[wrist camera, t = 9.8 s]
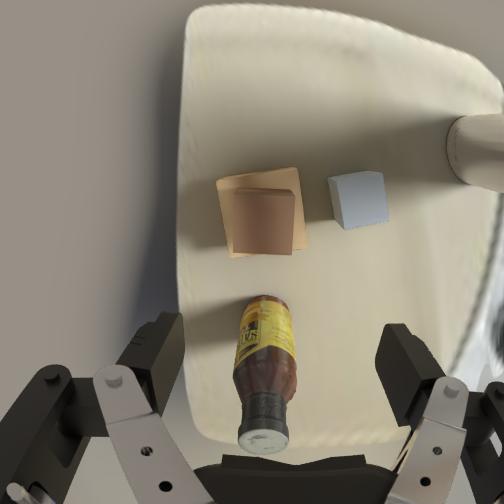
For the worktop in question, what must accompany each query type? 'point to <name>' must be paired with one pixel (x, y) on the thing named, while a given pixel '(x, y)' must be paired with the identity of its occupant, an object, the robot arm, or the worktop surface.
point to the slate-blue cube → (358, 199)
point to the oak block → (262, 179)
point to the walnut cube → (263, 221)
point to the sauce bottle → (265, 375)
